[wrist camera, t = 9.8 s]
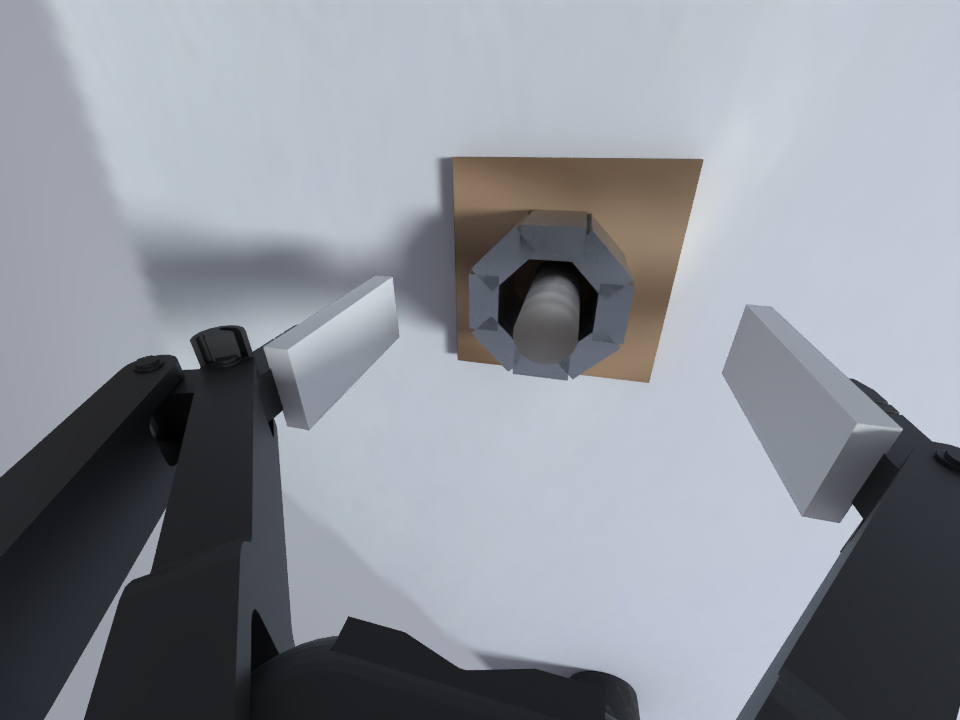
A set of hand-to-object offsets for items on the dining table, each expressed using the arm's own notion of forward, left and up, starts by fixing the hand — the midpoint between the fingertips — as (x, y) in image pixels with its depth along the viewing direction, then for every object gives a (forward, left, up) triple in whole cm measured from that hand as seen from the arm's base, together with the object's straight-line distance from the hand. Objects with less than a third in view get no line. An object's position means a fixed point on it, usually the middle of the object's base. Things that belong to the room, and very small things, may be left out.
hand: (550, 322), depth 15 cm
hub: (0, 0, -8) cm, 8 cm away
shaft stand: (0, 0, -9) cm, 9 cm away
